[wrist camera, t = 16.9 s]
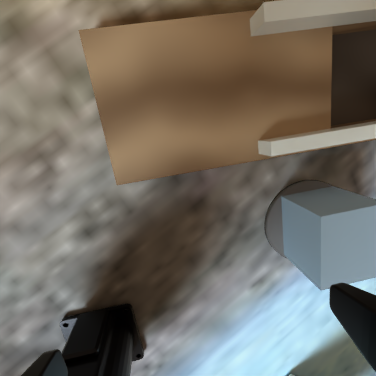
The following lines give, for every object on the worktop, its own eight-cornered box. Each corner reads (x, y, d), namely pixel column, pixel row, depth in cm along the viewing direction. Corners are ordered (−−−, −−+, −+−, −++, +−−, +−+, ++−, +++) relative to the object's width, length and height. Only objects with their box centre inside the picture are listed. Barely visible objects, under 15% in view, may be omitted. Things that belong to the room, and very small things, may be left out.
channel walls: (419, 125, 18) (450, 125, 16) (258, 153, 17) (271, 156, 15) (435, -3, 16) (473, -21, 14) (249, 19, 15) (263, 2, 13)
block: (332, 186, 20) (387, 203, 15) (331, 244, 22) (381, 276, 17) (281, 196, 20) (320, 216, 15) (283, 254, 21) (320, 290, 16)
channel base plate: (394, 132, 20) (418, 132, 18) (121, 179, 18) (116, 185, 16) (405, 5, 18) (436, -11, 16) (88, 43, 15) (78, 30, 13)
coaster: (340, 248, 23) (345, 251, 22) (267, 264, 22) (270, 267, 21) (343, 173, 21) (348, 174, 20) (262, 188, 20) (265, 190, 19)
